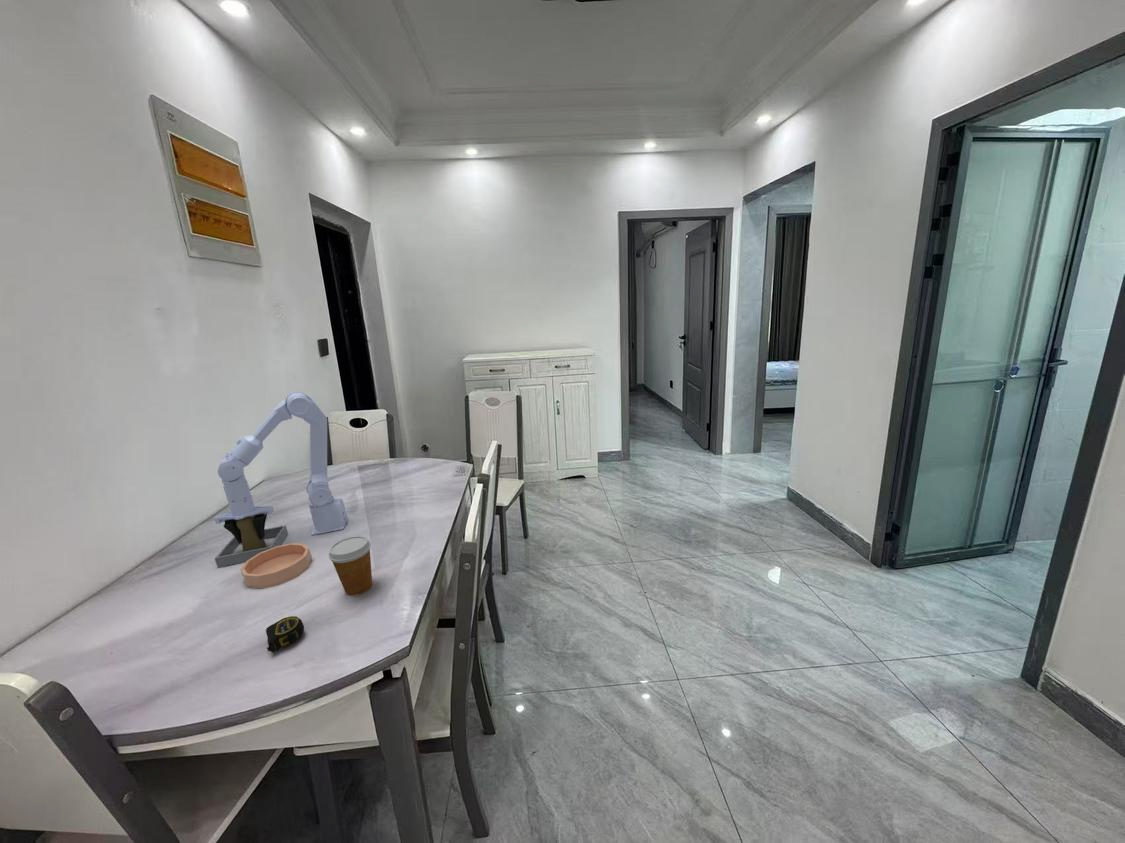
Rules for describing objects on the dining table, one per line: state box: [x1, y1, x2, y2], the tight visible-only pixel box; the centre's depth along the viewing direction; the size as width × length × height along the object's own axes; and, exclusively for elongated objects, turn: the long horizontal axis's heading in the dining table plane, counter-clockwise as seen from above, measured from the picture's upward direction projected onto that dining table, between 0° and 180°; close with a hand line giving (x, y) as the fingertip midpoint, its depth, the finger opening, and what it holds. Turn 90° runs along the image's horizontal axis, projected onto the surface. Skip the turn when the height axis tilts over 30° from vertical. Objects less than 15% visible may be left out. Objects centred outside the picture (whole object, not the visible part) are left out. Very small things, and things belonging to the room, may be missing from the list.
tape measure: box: [265, 615, 305, 653], centre depth 97 cm, size 7×7×4 cm
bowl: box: [240, 542, 313, 589], centre depth 124 cm, size 16×16×4 cm
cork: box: [236, 516, 268, 552], centre depth 135 cm, size 6×6×11 cm
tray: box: [214, 525, 289, 568], centre depth 137 cm, size 14×14×3 cm
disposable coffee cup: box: [327, 535, 373, 597], centre depth 112 cm, size 10×10×12 cm
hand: (252, 539), depth 136 cm, fingers closed on cork, 5 cm apart
